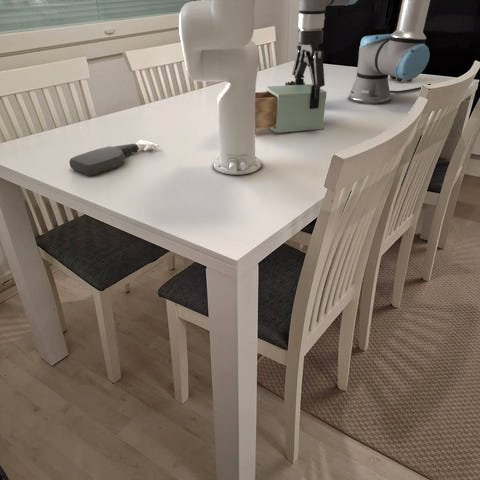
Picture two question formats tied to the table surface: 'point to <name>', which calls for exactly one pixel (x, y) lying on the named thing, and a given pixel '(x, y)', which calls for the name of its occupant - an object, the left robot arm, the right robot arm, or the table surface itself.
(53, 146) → the table surface
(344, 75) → the table surface
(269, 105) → the drawer
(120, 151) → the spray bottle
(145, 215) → the table surface
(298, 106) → the mint green storage box
